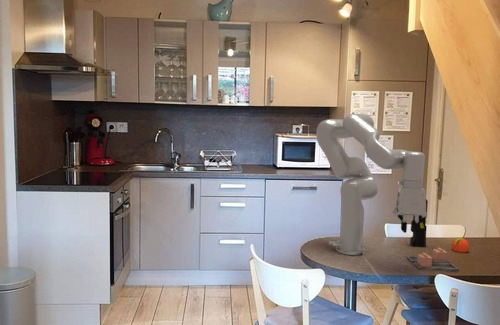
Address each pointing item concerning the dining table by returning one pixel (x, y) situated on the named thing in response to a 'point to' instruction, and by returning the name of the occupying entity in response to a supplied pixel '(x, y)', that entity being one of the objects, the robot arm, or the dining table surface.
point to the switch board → (434, 263)
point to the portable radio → (420, 233)
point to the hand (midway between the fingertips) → (408, 231)
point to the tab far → (439, 255)
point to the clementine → (460, 245)
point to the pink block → (424, 260)
